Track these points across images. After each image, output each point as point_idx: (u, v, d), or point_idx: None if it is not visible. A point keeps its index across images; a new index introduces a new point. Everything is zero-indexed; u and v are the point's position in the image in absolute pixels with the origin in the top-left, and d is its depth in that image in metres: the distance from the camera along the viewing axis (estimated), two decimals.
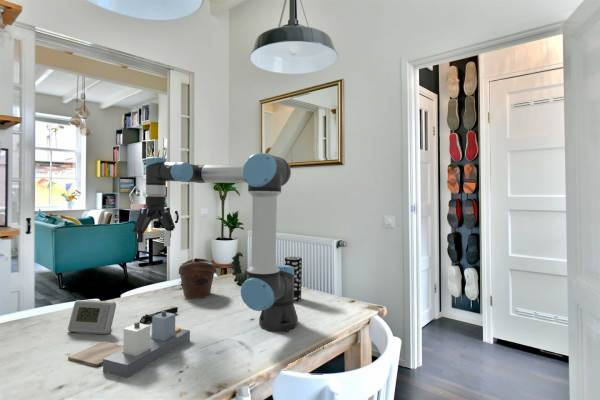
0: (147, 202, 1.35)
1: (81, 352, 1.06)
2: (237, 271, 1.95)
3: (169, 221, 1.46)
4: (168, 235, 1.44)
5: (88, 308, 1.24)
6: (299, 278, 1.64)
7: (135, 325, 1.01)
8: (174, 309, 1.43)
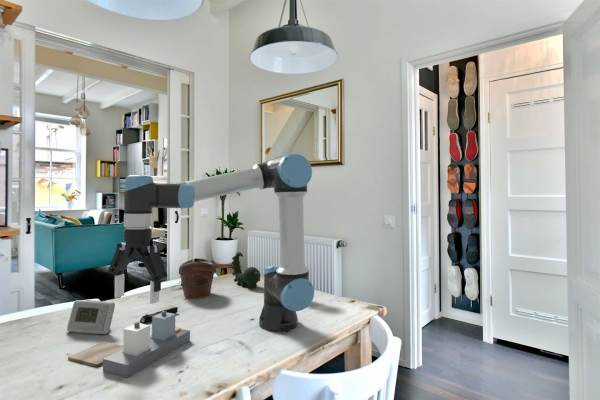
0: None
1: (81, 352, 1.06)
2: (237, 271, 1.95)
3: None
4: None
5: (87, 308, 1.24)
6: None
7: (135, 325, 1.01)
8: (174, 309, 1.43)
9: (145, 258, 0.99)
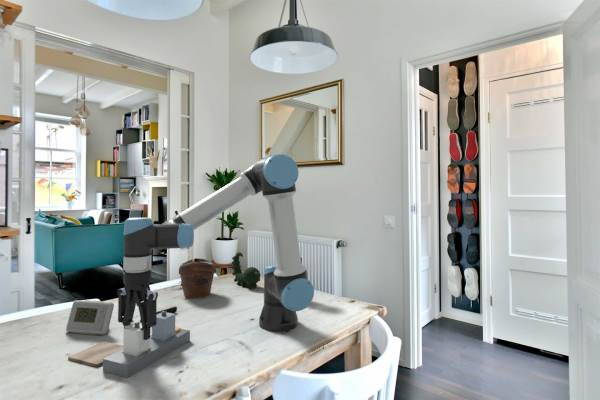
0: None
1: (81, 352, 1.06)
2: (237, 271, 1.95)
3: None
4: None
5: (86, 309, 1.24)
6: None
7: (135, 325, 1.01)
8: (173, 309, 1.44)
9: (142, 304, 1.00)
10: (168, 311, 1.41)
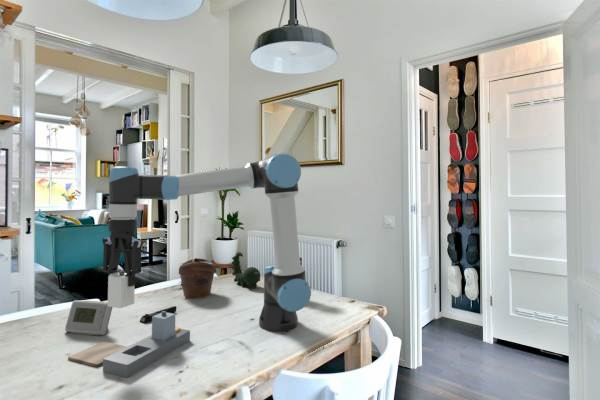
0: None
1: (81, 352, 1.06)
2: (237, 271, 1.95)
3: None
4: None
5: (85, 309, 1.23)
6: None
7: (120, 273, 1.02)
8: (173, 308, 1.44)
9: (126, 251, 1.01)
10: (168, 311, 1.42)
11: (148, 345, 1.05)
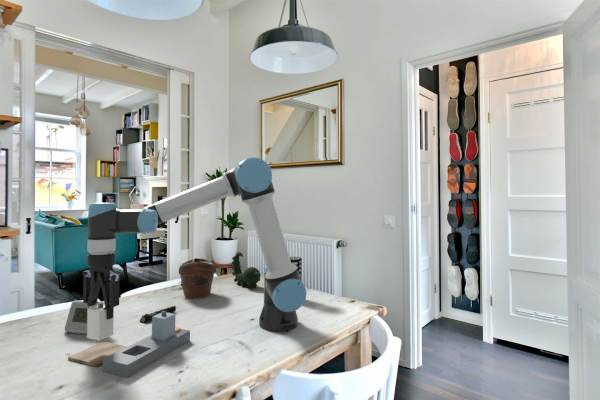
0: None
1: (81, 352, 1.06)
2: (237, 271, 1.95)
3: None
4: None
5: (84, 309, 1.23)
6: None
7: (99, 305, 1.05)
8: (172, 308, 1.44)
9: (105, 284, 1.04)
10: (167, 310, 1.42)
11: (148, 345, 1.05)
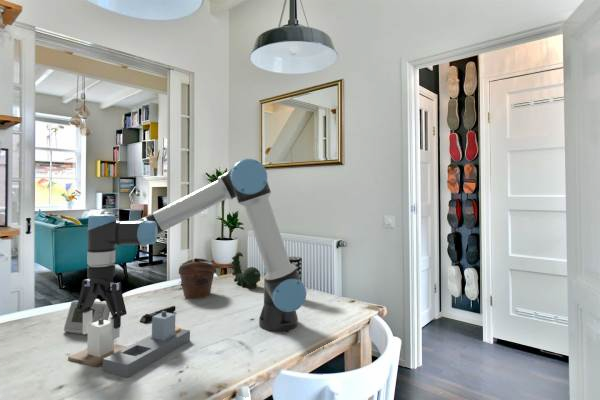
0: None
1: (81, 352, 1.06)
2: (237, 271, 1.95)
3: None
4: None
5: None
6: None
7: (99, 321, 1.05)
8: (172, 308, 1.45)
9: (107, 295, 1.04)
10: (167, 310, 1.42)
11: (148, 345, 1.05)
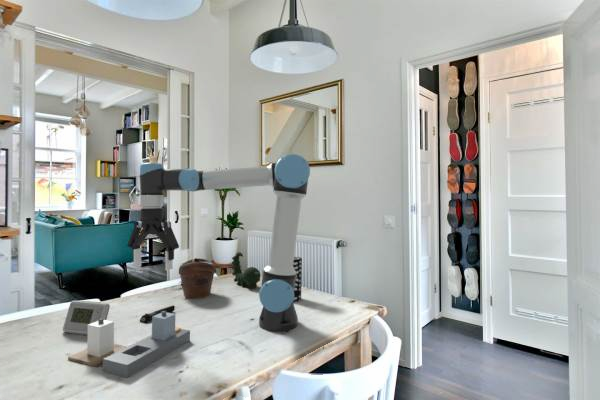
0: None
1: (81, 352, 1.06)
2: (237, 271, 1.95)
3: None
4: None
5: (82, 309, 1.23)
6: (299, 278, 1.64)
7: (99, 321, 1.05)
8: (171, 307, 1.45)
9: (160, 232, 1.18)
10: (166, 310, 1.42)
11: (148, 345, 1.05)
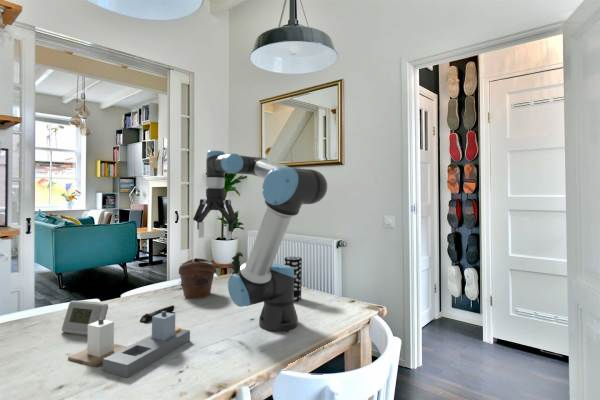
0: None
1: (81, 352, 1.06)
2: (237, 271, 1.95)
3: None
4: None
5: (81, 309, 1.23)
6: (299, 278, 1.64)
7: (99, 321, 1.05)
8: (171, 307, 1.45)
9: (221, 208, 1.42)
10: (166, 310, 1.43)
11: (148, 345, 1.05)
